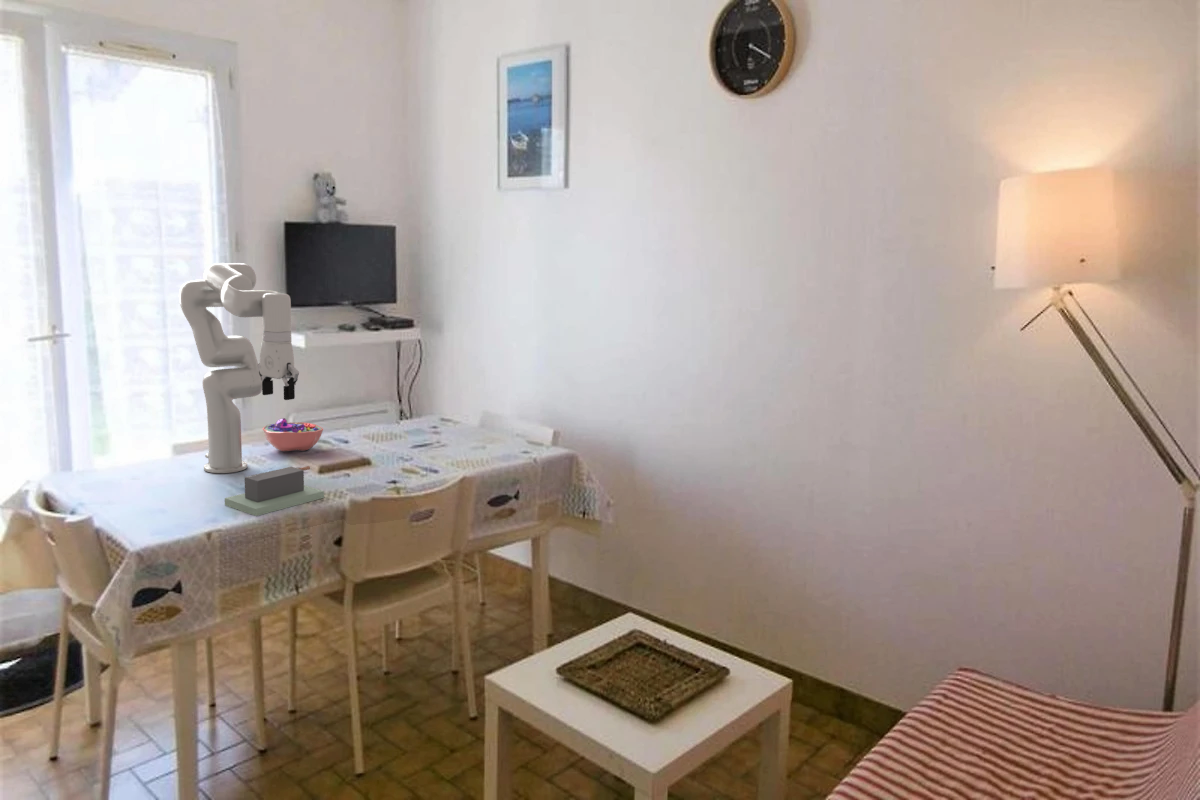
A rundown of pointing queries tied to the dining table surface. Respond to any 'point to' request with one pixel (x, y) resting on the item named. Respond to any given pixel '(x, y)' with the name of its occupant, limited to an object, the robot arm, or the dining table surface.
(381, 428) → the dining table surface
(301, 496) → the header board
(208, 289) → the robot arm
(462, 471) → the dining table surface
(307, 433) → the cell model
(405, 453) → the dining table surface
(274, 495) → the block
